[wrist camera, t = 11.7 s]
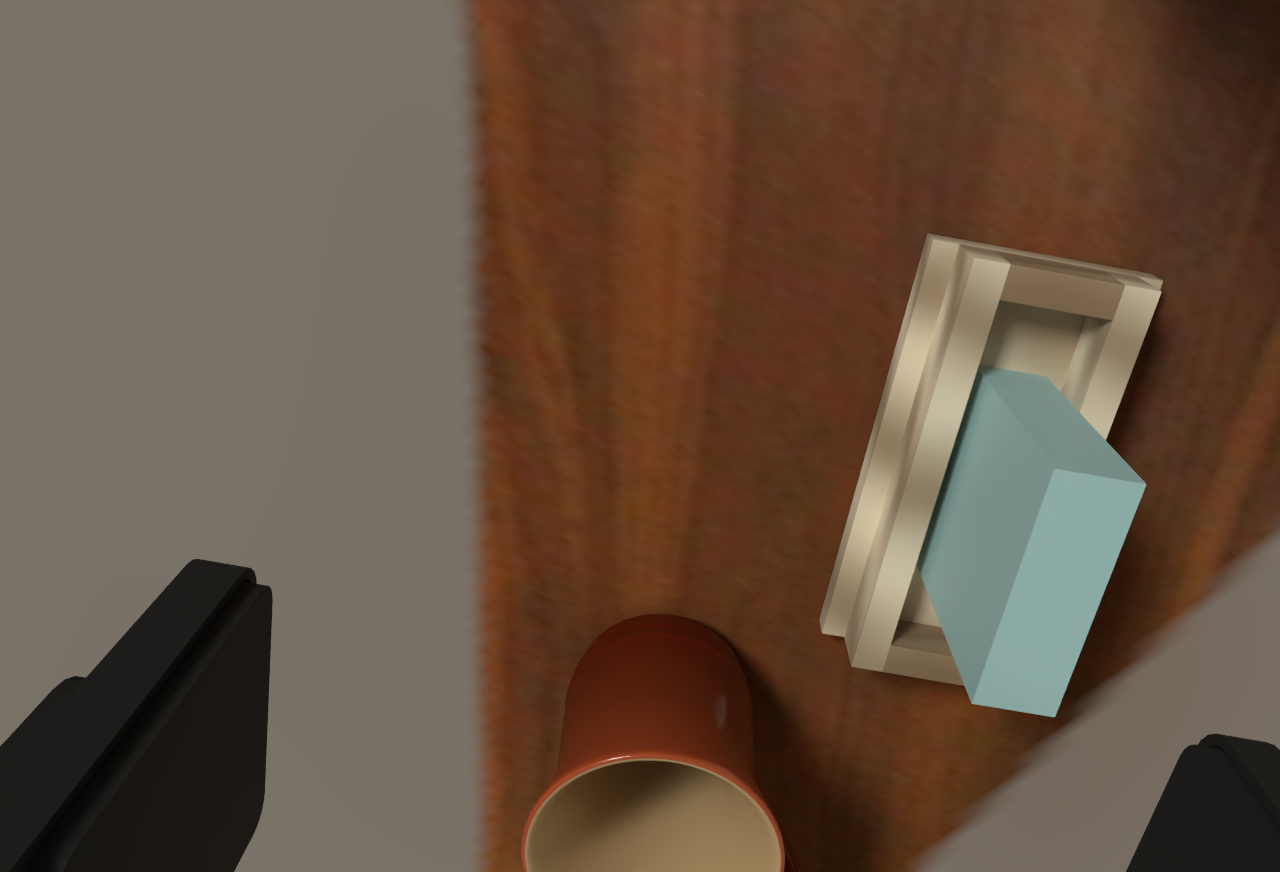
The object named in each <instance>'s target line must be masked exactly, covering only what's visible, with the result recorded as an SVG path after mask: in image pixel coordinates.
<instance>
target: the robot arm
mask: <svg viewBox="0 0 1280 872" xmlns="http://www.w3.org/2000/svg"><path fill="white" fill-rule="evenodd" d="M271 625H272V591H271V588H270V587H269V586H265V585H259V584H256V576H255V572H254V571H253V570H252V569H251V568H247V567H241V566H235V565H229V564H224V563H218V562H212V561H206V560H200V559H194V560H192V561H191V562H189V563H188V564H187V565H186V566H185V567H184V568H183V569H182V571H181V572H180V573H179V574H178V575H177V576H176V577H175V578H174V580H173V581H172V582H171V583H170V584H169V585H168V586H167V587H166V588H165V590H164V591H163V592H162V593H161V594H160V595H159V596H158V597H157V599H156V600H155V601H154V602H153V603H152V604H151V605H150V606H149V608H148V609H147V610H146V611H145V612H144V613H143V614H142V615H141V617H140V618H139V619H138V620H137V621H136V622H135V623H134V624H133V626H132V627H131V628H130V629H129V630H128V631H127V633H125V635H124V636H123V637H122V638H121V639H120V640H119V641H118V642H117V644H116V645H115V646H114V647H113V648H112V649H111V650H110V651H109V653H108V654H107V655H106V656H105V657H104V658H103V659H102V661H101V662H100V663H99V664H98V665H97V666H96V667H95V668H94V669H93V671H92V672H91V673H90V674H89V675H88V676H87V677H86V678H84V677H78V676H74V677H71V678H68V679H65V680H64V681H63V682H61V683H60V684H59V685H58V686H56V688H54V689H53V690H52V691H51V692H50V693H49V694H48V695H47V696H46V698H45V699H44V700H43V701H42V702H41V703H40V704H39V705H38V706H37V707H36V708H35V709H34V711H33V712H32V713H31V714H30V715H29V716H28V717H27V718H26V719H25V720H24V721H23V723H22V724H21V725H20V726H19V727H18V728H17V729H16V730H15V731H14V732H13V733H12V734H11V736H10V737H9V738H8V739H7V740H6V741H5V742H4V743H3V744H2V745H1V746H0V872H234V871H235V869H236V867H237V865H238V863H239V861H240V859H241V857H242V855H243V853H244V851H245V849H246V848H247V846H248V844H249V842H250V840H251V838H252V836H253V834H254V832H255V830H256V827H257V824H258V822H259V819H260V815H261V812H262V807H263V802H264V794H265V772H266V748H267V746H266V745H267V724H268V699H269V698H268V697H269V674H270V649H271ZM1126 872H1280V750H1279V749H1278V748H1277V747H1276V746H1275V745H1272V744H1270V743H1267V742H1261V741H1256V740H1250V739H1244V738H1238V737H1232V736H1225V735H1221V734H1211V735H1207V736H1206V737H1205V738H1203V739H1202V740H1201V741H1200V742H1199V744H1198V745H1190V746H1188V747H1187V748H1186V749H1184V751H1183V752H1182V754H1181V755H1180V757H1179V759H1178V761H1177V764H1176V766H1175V768H1174V770H1173V772H1172V774H1171V776H1170V779H1169V781H1168V783H1167V785H1166V787H1165V789H1164V791H1163V794H1162V796H1161V798H1160V800H1159V802H1158V804H1157V806H1156V809H1155V811H1154V813H1153V815H1152V817H1151V819H1150V821H1149V824H1148V826H1147V828H1146V830H1145V832H1144V835H1143V836H1142V839H1141V841H1140V843H1139V845H1138V847H1137V850H1136V851H1135V854H1134V856H1133V858H1132V860H1131V863H1130V864H1129V867H1128V869H1127V871H1126Z"/></svg>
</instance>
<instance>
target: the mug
mask: <svg viewBox="0 0 1280 872" xmlns="http://www.w3.org/2000/svg"><path fill="white" fill-rule="evenodd" d="M521 857H522V865H523V869H524V872H801V870H800V867H799V864H798V862H797V859H796V857H795V855H794V852H793V850H792V848H791V846H790V844H789V842H788V841H787V839H786V837H785V835H784V833H783V832H782V830H781V829H780V827H779V825H778V823H777V820H776V818H775V816H774V814H773V813H772V811H771V809H770V807H769V805H768V803H767V802H766V800H765V798H764V796H763V795H762V793H761V791H760V789H759V787H758V785H757V782H756V778H755V744H754V728H753V702H752V697H751V693H750V690H749V687H748V684H747V680H746V677H745V675H744V672H743V670H742V668H741V666H740V663H739V661H738V659H737V657H736V655H735V654H734V652H733V650H732V649H731V648H730V646H729V645H728V644H727V643H726V642H725V641H724V640H723V639H722V638H721V637H720V636H719V635H718V634H716V633H715V632H714V631H712V630H711V629H709V628H708V627H706V626H704V625H702V624H700V623H698V622H696V621H694V620H691V619H688V618H684V617H680V616H675V615H668V614H649V615H642V616H636V617H633V618H629V619H626V620H624V621H621V622H619V623H617V624H615V625H613V626H611V627H610V628H608V629H607V630H605V631H604V632H603V633H601V634H600V635H599V636H598V637H597V638H596V639H595V640H594V641H593V642H592V643H591V644H590V646H589V647H588V649H587V650H586V652H585V654H584V655H583V657H582V659H581V660H580V662H579V663H578V665H577V667H576V669H575V672H574V674H573V677H572V680H571V682H570V685H569V688H568V691H567V695H566V702H565V715H564V721H563V727H562V734H561V742H560V753H559V762H558V767H557V770H556V772H555V774H554V776H553V778H552V779H551V781H550V782H549V784H548V785H547V787H546V788H545V790H544V791H543V793H542V794H541V795H540V797H539V798H538V800H537V801H536V803H535V805H534V806H533V808H532V810H531V812H530V814H529V816H528V819H527V821H526V824H525V827H524V831H523V835H522V842H521Z"/></svg>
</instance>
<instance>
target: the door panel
mask: <svg viewBox="0 0 1280 872" xmlns="http://www.w3.org/2000/svg"><path fill="white" fill-rule="evenodd" d="M1145 487H1146V483H1145V482H1144V481H1143V480H1142V479H1141V478H1140V477H1139V476H1138V475H1137V474H1136V473H1135V471H1134V470H1133V469H1132V468H1131V467H1130V466H1129V465H1128V464H1127V463H1126V462H1125V461H1124V460H1123V459H1122V458H1121V456H1120V455H1119V454H1118V453H1117V452H1116V451H1115V450H1114V449H1113V448H1112V447H1111V446H1110V445H1109V444H1108V443H1107V441H1106V440H1105V439H1104V438H1103V437H1102V436H1101V435H1100V434H1099V433H1098V432H1097V431H1096V430H1095V429H1094V428H1093V426H1092V425H1091V424H1090V423H1089V422H1088V421H1087V420H1086V419H1085V418H1084V417H1083V416H1082V415H1081V414H1080V413H1079V411H1078V410H1077V409H1076V408H1075V407H1074V406H1073V405H1072V404H1071V403H1070V402H1069V401H1068V400H1067V399H1066V398H1065V396H1064V395H1063V394H1062V393H1061V392H1060V391H1059V390H1058V389H1057V388H1056V387H1055V386H1054V385H1053V384H1052V383H1051V381H1050V380H1049V379H1048V378H1047V377H1046V376H1043V375H1037V374H1031V373H1026V372H1020V371H1014V370H1008V369H1002V368H997V367H991V366H985V365H979V366H978V370H977V373H976V376H975V379H974V382H973V385H972V389H971V392H970V395H969V398H968V401H967V404H966V408H965V411H964V414H963V417H962V420H961V423H960V427H959V430H958V433H957V436H956V439H955V443H954V446H953V449H952V452H951V455H950V458H949V462H948V465H947V468H946V471H945V474H944V477H943V481H942V484H941V487H940V490H939V493H938V496H937V500H936V503H935V506H934V509H933V512H932V515H931V519H930V522H929V525H928V528H927V531H926V535H925V538H924V541H923V544H922V547H921V550H920V554H919V557H918V560H917V563H916V565H917V567H918V570H919V572H920V575H921V577H922V580H923V582H924V585H925V587H926V590H927V592H928V595H929V597H930V600H931V602H932V605H933V607H934V610H935V613H936V615H937V618H938V620H939V623H940V625H941V628H942V630H943V633H944V635H945V638H946V640H947V643H948V645H949V648H950V650H951V653H952V655H953V658H954V660H955V663H956V665H957V668H958V671H959V673H960V676H961V678H962V681H963V683H964V686H965V688H966V691H967V693H968V696H969V698H970V701H971V703H972V704H977V705H983V706H989V707H995V708H1001V709H1007V710H1013V711H1019V712H1025V713H1031V714H1037V715H1043V716H1049V717H1055V716H1056V713H1057V711H1058V708H1059V706H1060V703H1061V701H1062V698H1063V696H1064V693H1065V691H1066V688H1067V685H1068V683H1069V680H1070V678H1071V675H1072V673H1073V670H1074V668H1075V665H1076V663H1077V660H1078V657H1079V655H1080V652H1081V650H1082V647H1083V645H1084V642H1085V640H1086V637H1087V634H1088V632H1089V629H1090V627H1091V624H1092V622H1093V619H1094V617H1095V614H1096V612H1097V609H1098V606H1099V604H1100V601H1101V599H1102V596H1103V594H1104V591H1105V589H1106V586H1107V584H1108V581H1109V578H1110V576H1111V573H1112V571H1113V568H1114V566H1115V563H1116V561H1117V558H1118V556H1119V553H1120V550H1121V548H1122V545H1123V543H1124V540H1125V538H1126V535H1127V533H1128V530H1129V528H1130V525H1131V522H1132V520H1133V517H1134V515H1135V512H1136V510H1137V507H1138V505H1139V502H1140V500H1141V497H1142V494H1143V492H1144V489H1145Z"/></svg>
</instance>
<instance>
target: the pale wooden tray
mask: <svg viewBox="0 0 1280 872" xmlns="http://www.w3.org/2000/svg"><path fill="white" fill-rule="evenodd" d="M1162 283H1163V281H1162V280H1160V279H1159V278H1157V277H1155V276H1154V275H1152V274H1148V273H1143V272H1137V271H1132V270H1126V269H1121V268H1115V267H1110V266H1104V265H1099V264H1093V263H1088V262H1082V261H1077V260H1071V259H1066V258H1060V257H1055V256H1050V255H1044V254H1039V253H1033V252H1028V251H1022V250H1017V249H1011V248H1006V247H1000V246H995V245H989V244H984V243H978V242H973V241H967V240H962V239H956V238H951V237H945V236H940V235H934V234H929V233H928V234H927V237H926V241H925V244H924V248H923V251H922V255H921V259H920V262H919V266H918V269H917V273H916V276H915V280H914V284H913V287H912V291H911V294H910V298H909V301H908V305H907V309H906V312H905V316H904V319H903V323H902V326H901V330H900V333H899V337H898V341H897V344H896V348H895V351H894V355H893V358H892V362H891V366H890V369H889V373H888V376H887V380H886V383H885V387H884V391H883V394H882V398H881V401H880V405H879V408H878V412H877V415H876V419H875V423H874V426H873V430H872V433H871V437H870V440H869V444H868V448H867V451H866V455H865V458H864V462H863V465H862V469H861V473H860V476H859V480H858V483H857V487H856V490H855V494H854V497H853V501H852V505H851V508H850V512H849V515H848V519H847V522H846V526H845V530H844V533H843V537H842V540H841V544H840V547H839V551H838V554H837V558H836V562H835V565H834V569H833V572H832V576H831V579H830V583H829V587H828V590H827V594H826V597H825V601H824V604H823V608H822V612H821V615H820V619H819V621H820V625H821V630H822V633H824V634H830V635H835V636H841V637H844V638H845V642H846V646H847V651H848V655H849V659H850V663H851V667H857V668H863V669H869V670H874V671H880V672H886V673H892V674H898V675H904V676H909V677H915V678H921V679H927V680H933V681H939V682H944V683H950V684H956V685H962V686H964V683H963V681H962V678H961V676H960V673H959V671H958V668H957V665H956V663H955V660H954V658H953V655H952V653H951V650H950V648H949V645H948V643H947V640H946V638H945V635H944V633H943V630H942V628H941V625H940V623H939V620H938V618H937V615H936V613H935V610H934V607H933V605H932V602H931V600H930V597H929V595H928V592H927V590H926V587H925V585H924V582H923V580H922V577H921V575H920V572H919V570H918V567H917V565H916V563H917V560H918V557H919V554H920V550H921V547H922V544H923V541H924V538H925V535H926V531H927V528H928V525H929V522H930V519H931V515H932V512H933V509H934V506H935V503H936V500H937V496H938V493H939V490H940V487H941V484H942V481H943V477H944V474H945V471H946V468H947V465H948V462H949V458H950V455H951V452H952V449H953V446H954V443H955V439H956V436H957V433H958V430H959V427H960V423H961V420H962V417H963V414H964V411H965V408H966V404H967V401H968V398H969V395H970V392H971V389H972V385H973V382H974V379H975V376H976V373H977V370H978V366H979V365H985V366H991V367H997V368H1002V369H1008V370H1014V371H1020V372H1026V373H1031V374H1037V375H1043V376H1046V377H1047V378H1048V379H1049V380H1050V381H1051V383H1052V384H1053V385H1054V386H1055V387H1056V388H1057V389H1058V390H1059V391H1060V392H1061V393H1062V394H1063V395H1064V396H1065V398H1066V399H1067V400H1068V401H1069V402H1070V403H1071V404H1072V405H1073V406H1074V407H1075V408H1076V409H1077V410H1078V411H1079V413H1080V414H1081V415H1082V416H1083V417H1084V418H1085V419H1086V420H1087V421H1088V422H1089V423H1090V424H1091V425H1092V426H1093V428H1094V429H1095V430H1096V431H1097V432H1098V433H1099V434H1100V435H1101V436H1102V437H1103V438H1104V439H1105V440H1106V439H1107V436H1108V433H1109V431H1110V428H1111V425H1112V423H1113V420H1114V417H1115V415H1116V412H1117V409H1118V407H1119V404H1120V401H1121V399H1122V396H1123V393H1124V391H1125V388H1126V385H1127V383H1128V380H1129V377H1130V375H1131V372H1132V370H1133V367H1134V364H1135V362H1136V359H1137V356H1138V354H1139V351H1140V348H1141V346H1142V343H1143V340H1144V338H1145V335H1146V332H1147V330H1148V327H1149V324H1150V322H1151V319H1152V316H1153V314H1154V311H1155V308H1156V306H1157V303H1158V300H1159V298H1160V295H1161V291H1160V289H1161V286H1162Z"/></svg>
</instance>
